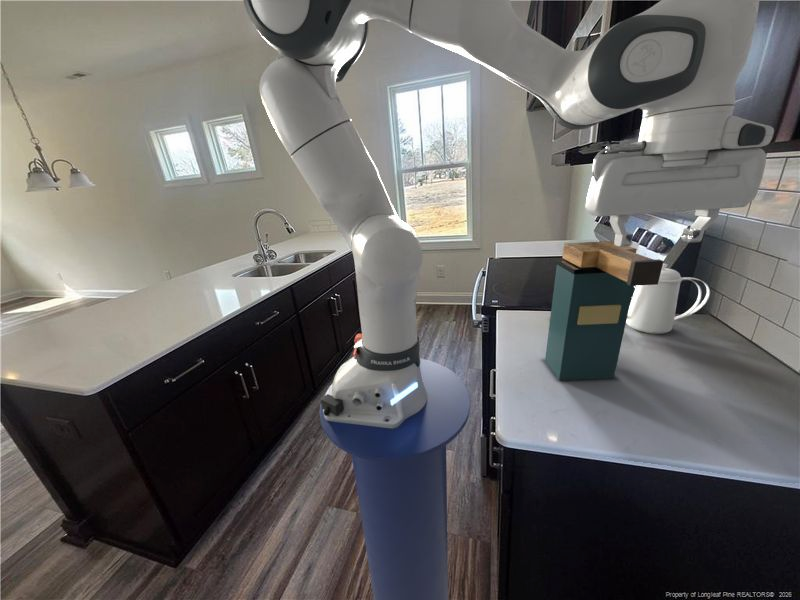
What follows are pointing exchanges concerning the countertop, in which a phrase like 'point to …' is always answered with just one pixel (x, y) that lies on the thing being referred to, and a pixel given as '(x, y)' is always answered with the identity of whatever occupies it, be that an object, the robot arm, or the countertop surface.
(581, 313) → the teal box with label
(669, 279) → the coffeepot
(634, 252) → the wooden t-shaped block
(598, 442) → the countertop surface
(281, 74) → the robot arm
